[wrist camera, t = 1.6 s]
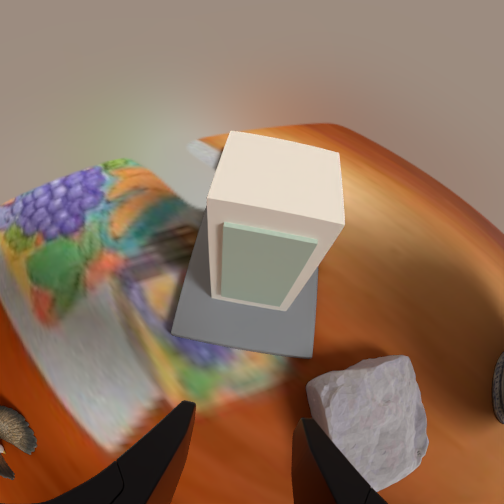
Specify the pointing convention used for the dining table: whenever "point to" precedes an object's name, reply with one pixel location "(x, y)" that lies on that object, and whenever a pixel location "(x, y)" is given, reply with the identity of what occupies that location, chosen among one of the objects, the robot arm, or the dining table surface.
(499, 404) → the decorative vase
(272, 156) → the tall block
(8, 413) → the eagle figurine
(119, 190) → the dining table surface
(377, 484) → the stone block
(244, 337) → the mat
